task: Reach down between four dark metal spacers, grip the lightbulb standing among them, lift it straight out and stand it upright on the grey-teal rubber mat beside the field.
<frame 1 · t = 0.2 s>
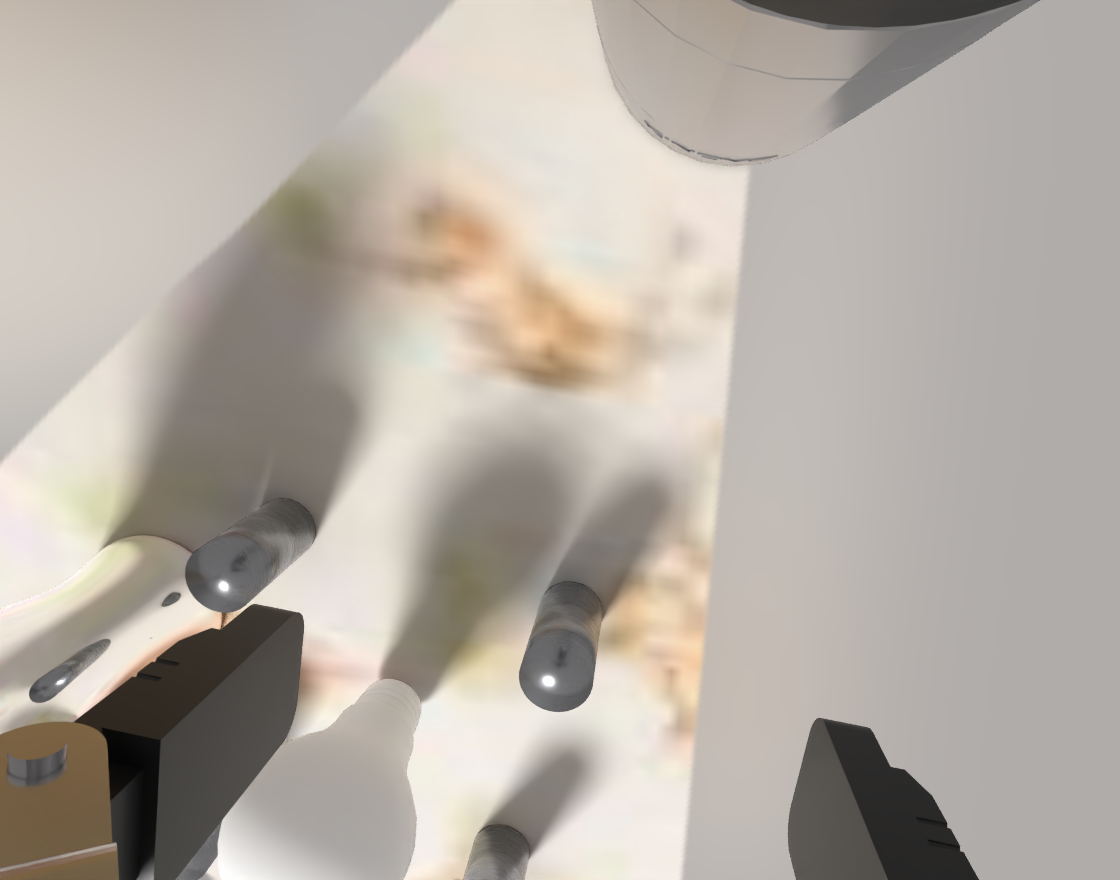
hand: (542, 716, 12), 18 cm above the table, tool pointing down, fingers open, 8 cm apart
lightbulb: (399, 692, 33), on the table
spacers: (397, 695, 33), on the table
beer glass: (159, 599, 33), on the table
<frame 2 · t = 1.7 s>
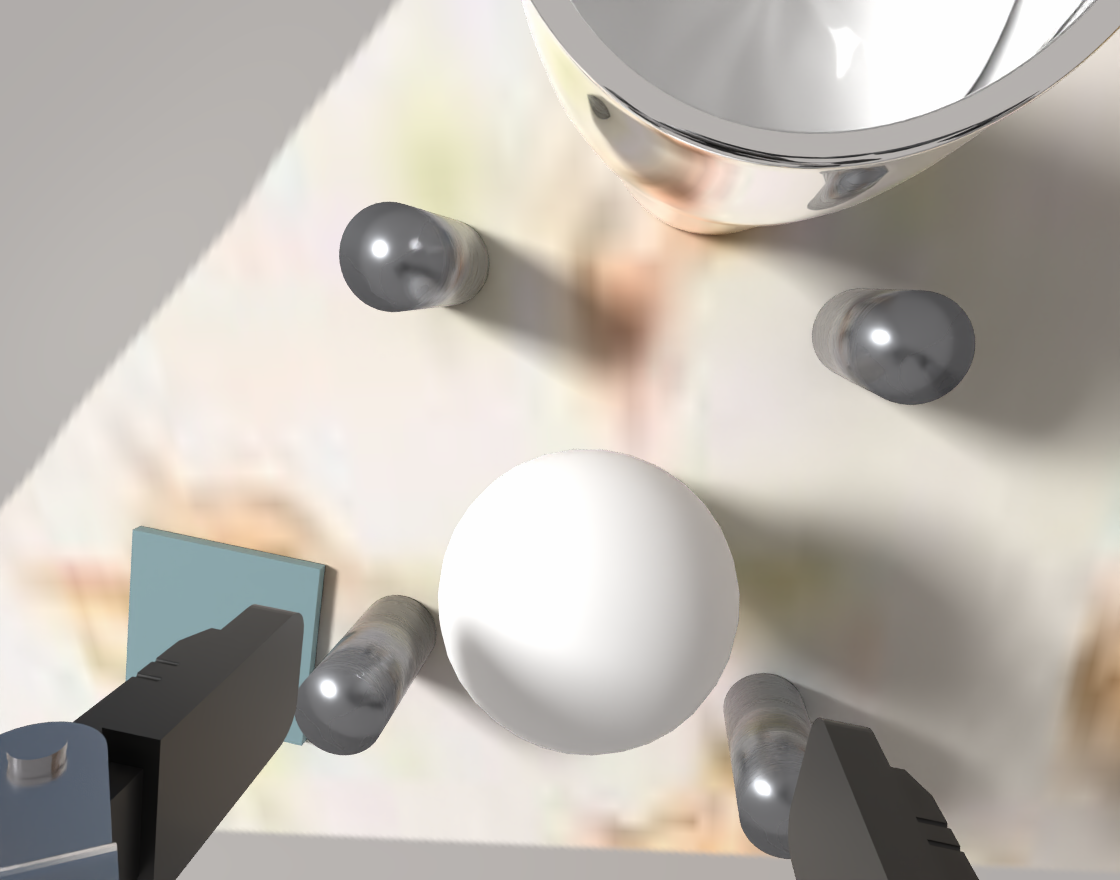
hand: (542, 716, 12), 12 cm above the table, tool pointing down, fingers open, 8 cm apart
lightbulb: (611, 491, 24), on the table
spacers: (610, 493, 24), on the table
beer glass: (717, 122, 21), on the table
mat: (225, 634, 26), on the table
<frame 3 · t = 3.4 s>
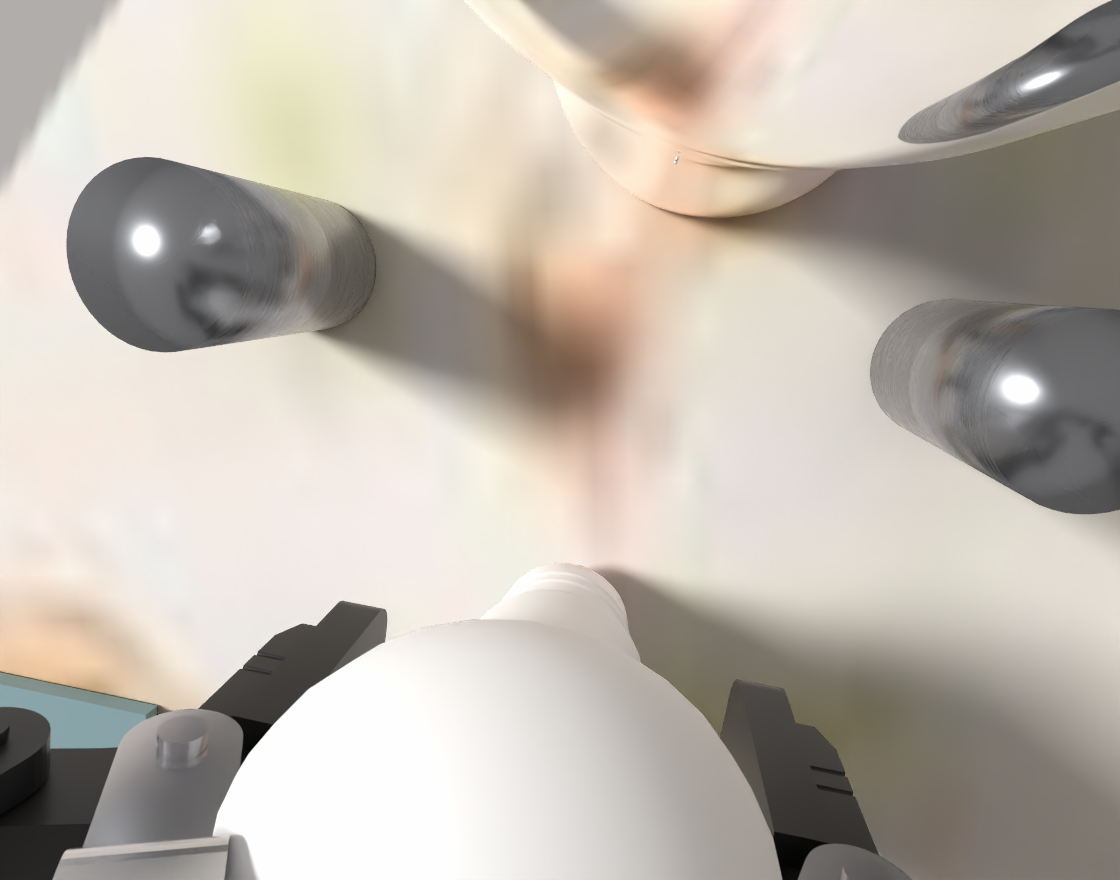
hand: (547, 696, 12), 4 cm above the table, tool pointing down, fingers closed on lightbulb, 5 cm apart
lightbulb: (569, 602, 16), on the table, touching gripper
spacers: (567, 606, 16), on the table
beer glass: (723, 41, 14), on the table
mat: (21, 799, 18), on the table
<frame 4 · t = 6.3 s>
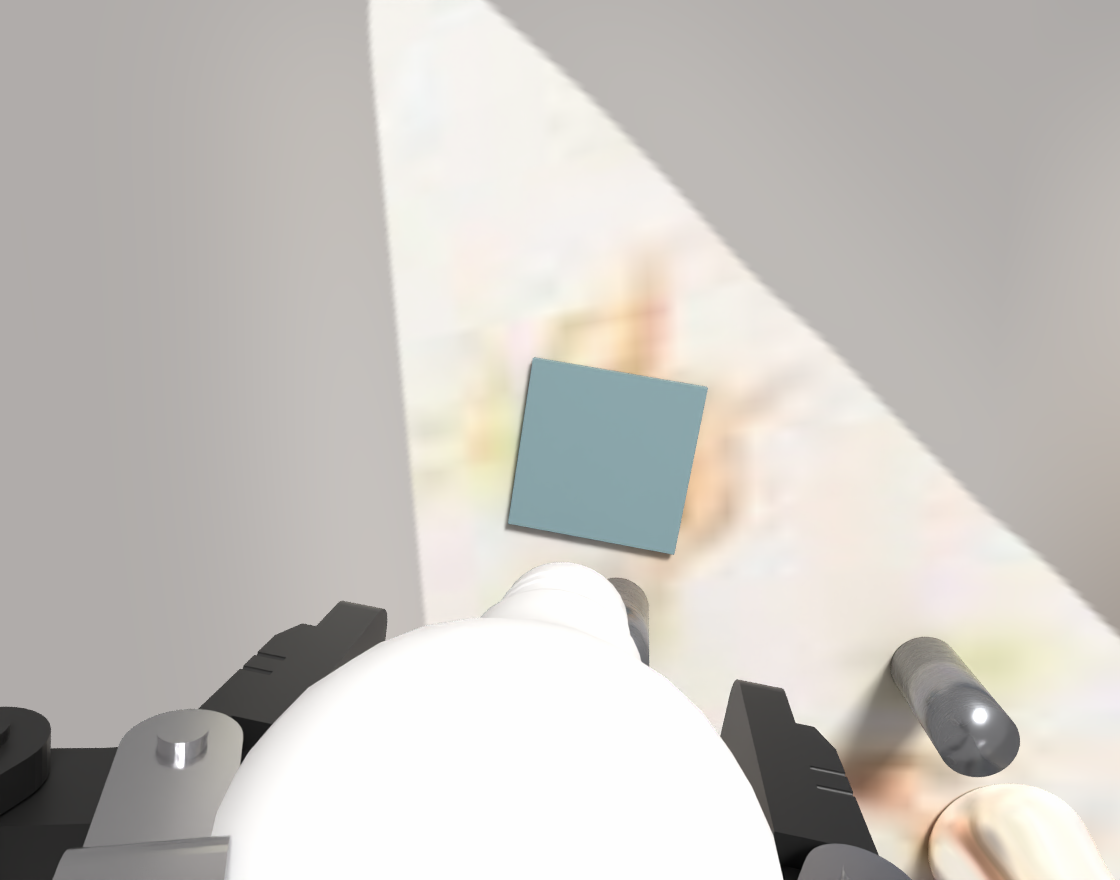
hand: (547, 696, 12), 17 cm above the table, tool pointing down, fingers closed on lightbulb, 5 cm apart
lightbulb: (569, 601, 16), point 14 cm above the table, touching gripper
spacers: (736, 770, 32), on the table
beer glass: (1003, 845, 31), on the table
mat: (605, 455, 30), on the table
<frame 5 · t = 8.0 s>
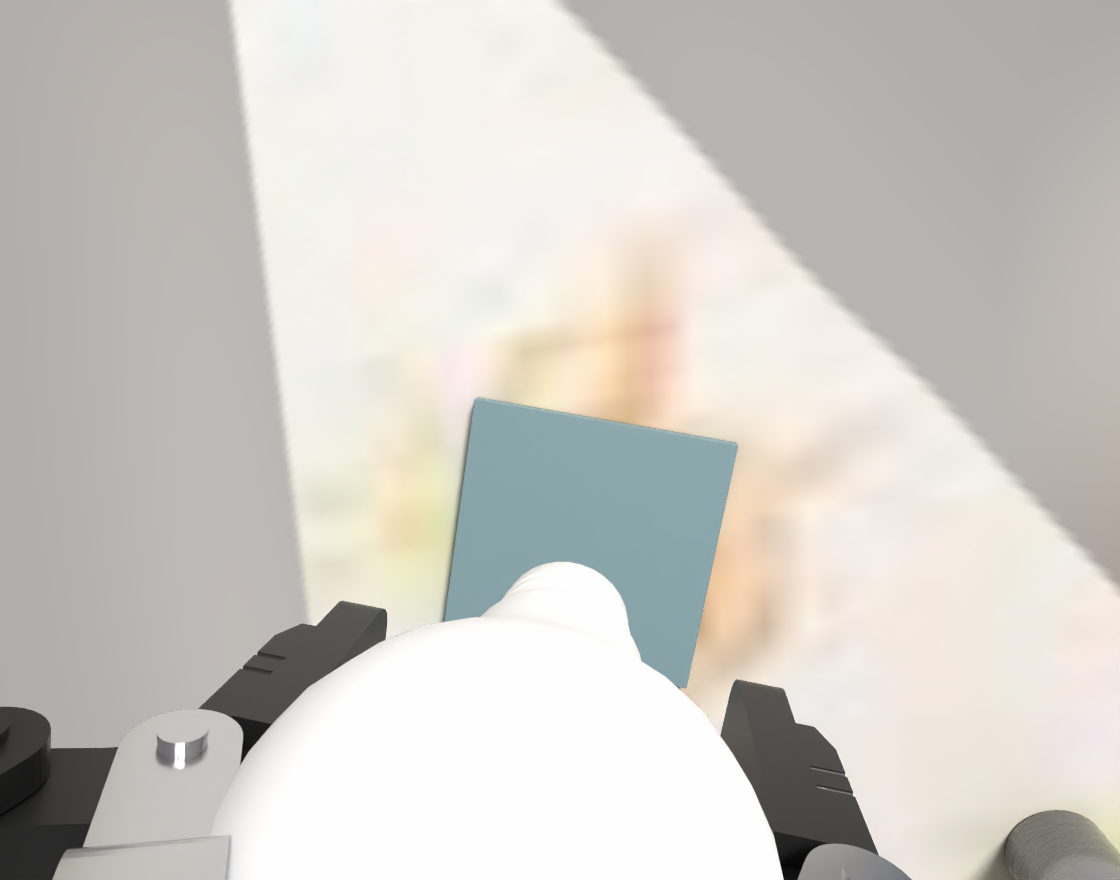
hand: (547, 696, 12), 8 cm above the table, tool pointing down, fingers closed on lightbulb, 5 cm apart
lightbulb: (569, 601, 16), point 4 cm above the table, touching gripper
mat: (584, 542, 20), on the table
when the fingers open (5 cm above the table, at t = 9.4 s): lightbulb drops 1 cm, resting on mat.
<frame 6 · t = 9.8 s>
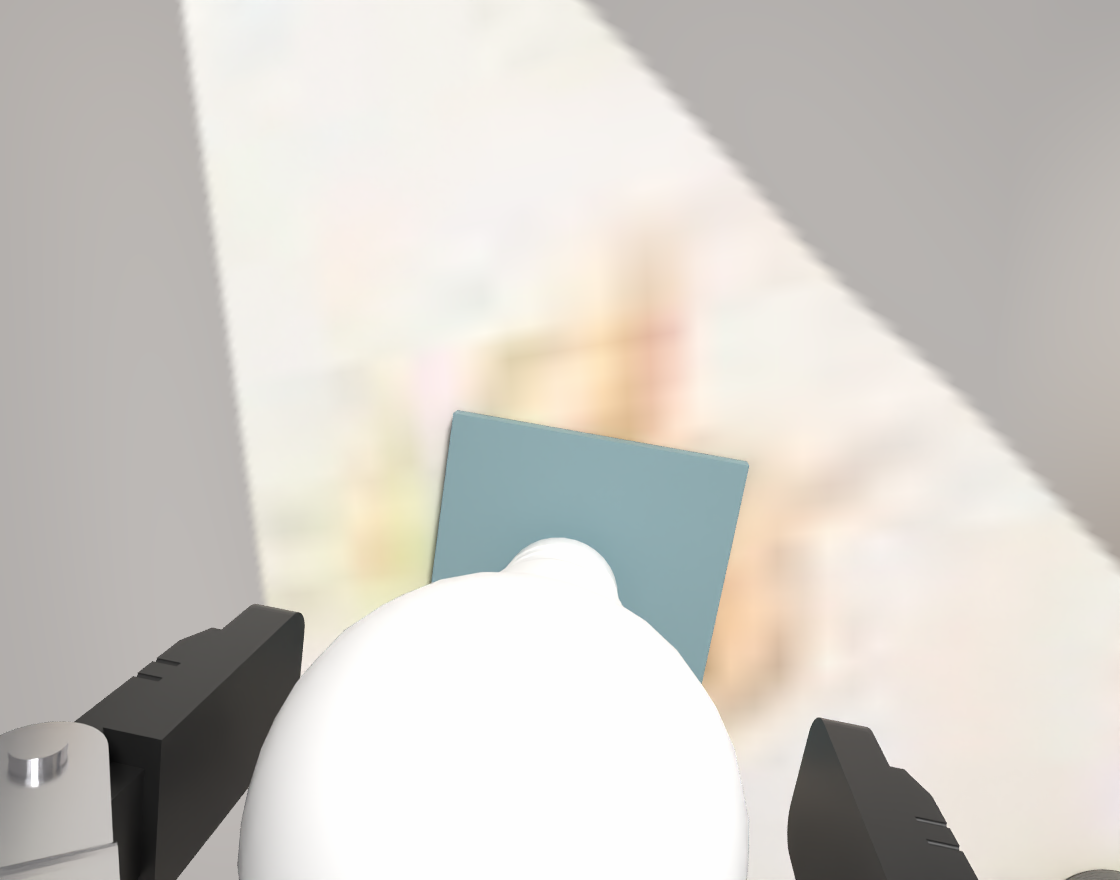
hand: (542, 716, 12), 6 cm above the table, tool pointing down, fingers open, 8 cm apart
lightbulb: (564, 574, 18), resting on mat
mat: (576, 571, 18), on the table
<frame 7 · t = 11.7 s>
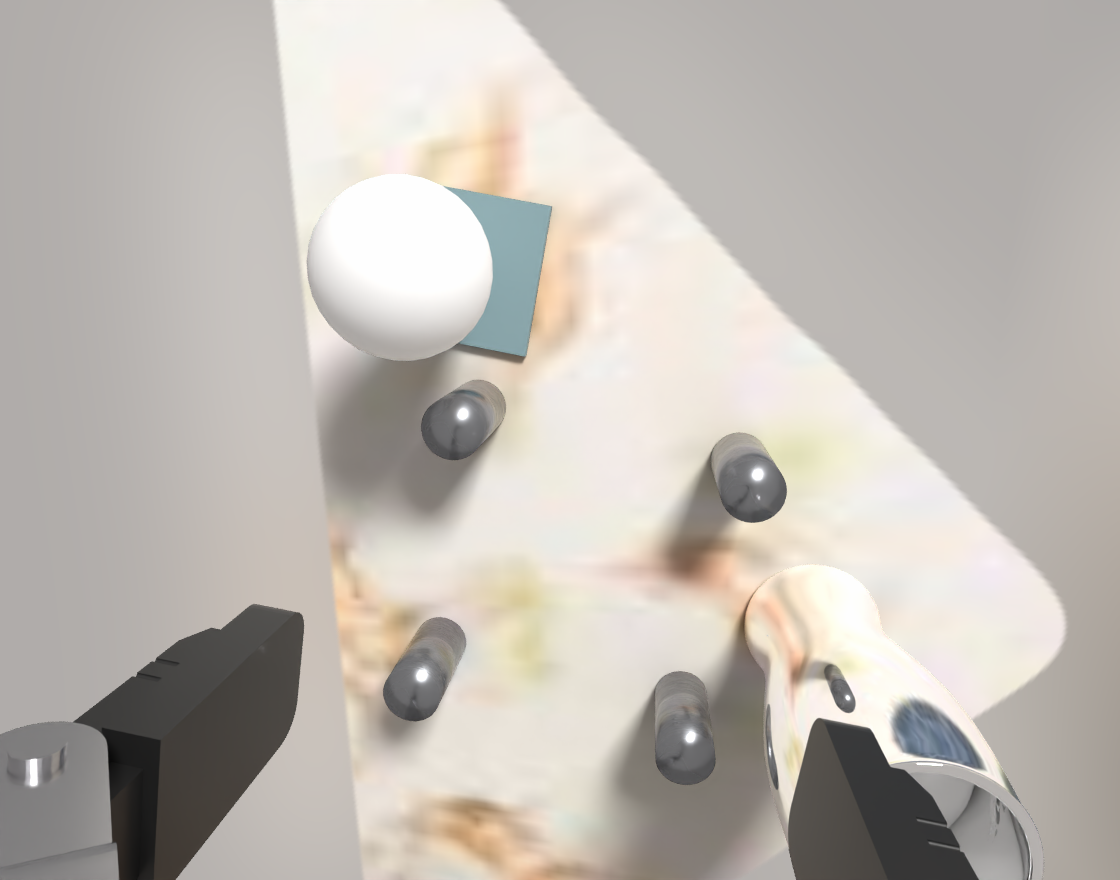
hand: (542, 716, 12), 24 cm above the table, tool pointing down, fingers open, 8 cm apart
lightbulb: (460, 269, 34), resting on mat
spacers: (582, 554, 36), on the table
beer glass: (809, 622, 36), on the table
mat: (467, 269, 34), on the table
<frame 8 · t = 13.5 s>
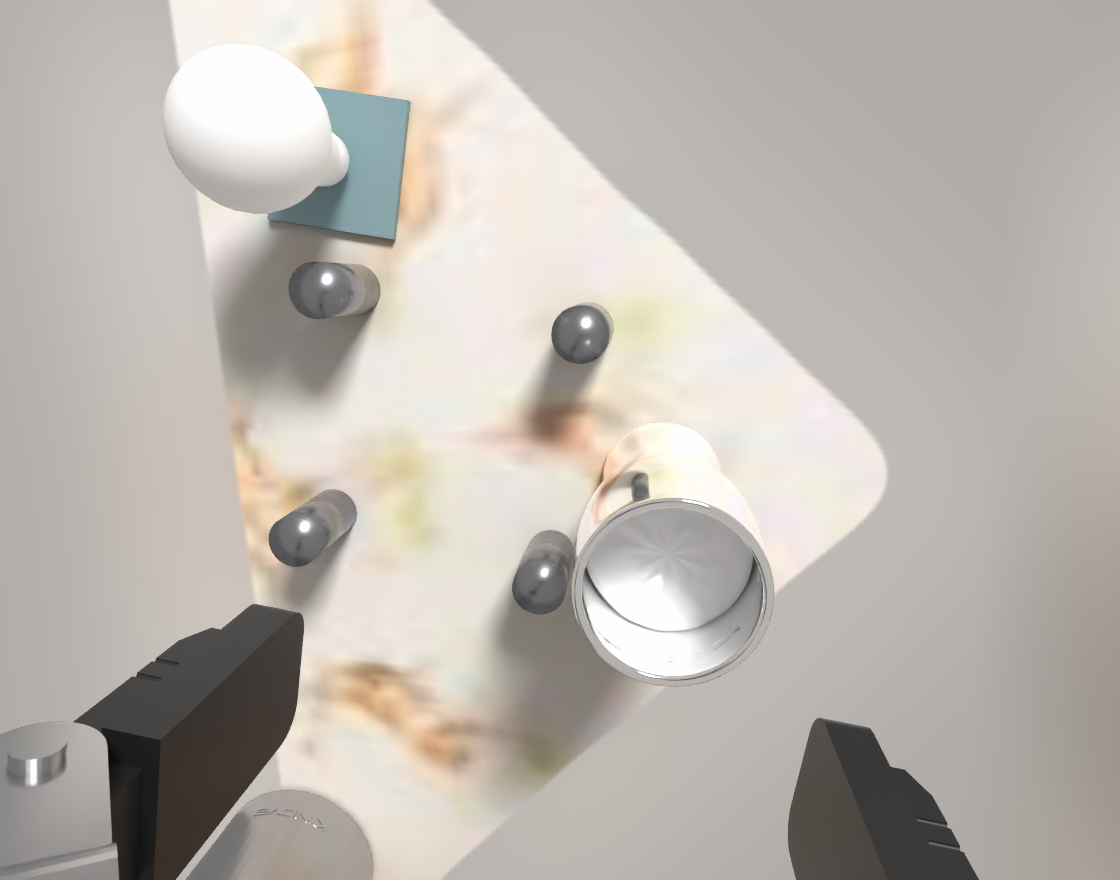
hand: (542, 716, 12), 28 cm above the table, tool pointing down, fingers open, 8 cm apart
lightbulb: (332, 162, 38), resting on mat
spacers: (455, 423, 40), on the table
beer glass: (661, 478, 40), on the table
mat: (339, 162, 38), on the table
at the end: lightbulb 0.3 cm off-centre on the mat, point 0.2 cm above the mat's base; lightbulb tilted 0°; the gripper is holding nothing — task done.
